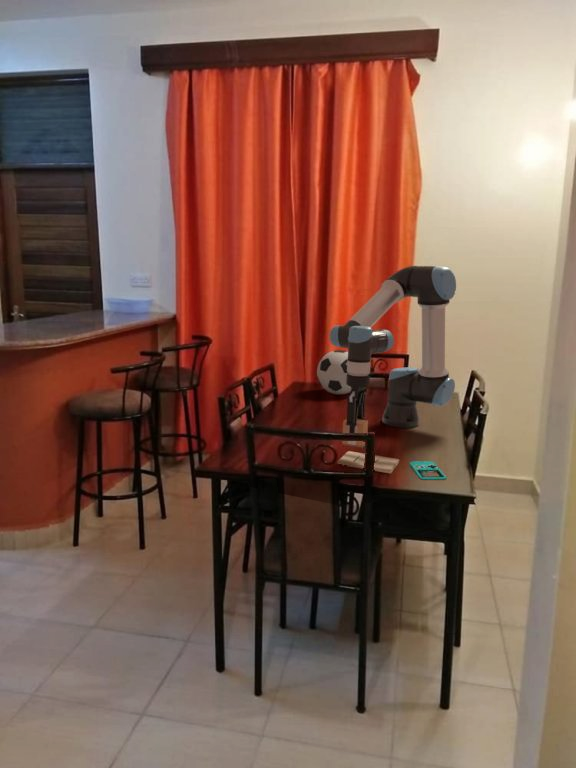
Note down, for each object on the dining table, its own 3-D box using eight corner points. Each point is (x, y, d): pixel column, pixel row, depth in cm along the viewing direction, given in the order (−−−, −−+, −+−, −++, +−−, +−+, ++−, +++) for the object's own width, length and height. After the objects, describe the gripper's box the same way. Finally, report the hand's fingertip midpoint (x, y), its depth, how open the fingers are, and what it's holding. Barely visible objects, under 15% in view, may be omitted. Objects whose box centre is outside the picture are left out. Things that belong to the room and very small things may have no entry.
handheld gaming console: (432, 460, 195) (447, 477, 180) (432, 463, 195) (447, 480, 180) (408, 460, 194) (421, 478, 179) (408, 463, 194) (421, 481, 180)
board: (348, 454, 201) (348, 450, 201) (399, 462, 194) (399, 459, 194) (337, 464, 191) (337, 460, 191) (390, 473, 184) (390, 470, 184)
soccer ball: (307, 392, 289) (308, 349, 284) (339, 386, 302) (341, 345, 297) (336, 401, 272) (338, 355, 267) (369, 395, 285) (372, 351, 280)
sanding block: (347, 440, 197) (348, 417, 195) (366, 443, 194) (368, 420, 192) (342, 444, 192) (343, 421, 190) (362, 447, 189) (363, 424, 188)
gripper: (355, 368, 197) (352, 433, 202) (338, 377, 181) (334, 447, 186) (377, 370, 194) (373, 436, 199) (360, 379, 178) (357, 451, 183)
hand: (354, 441), depth 193 cm, fingers closed on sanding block, 5 cm apart
